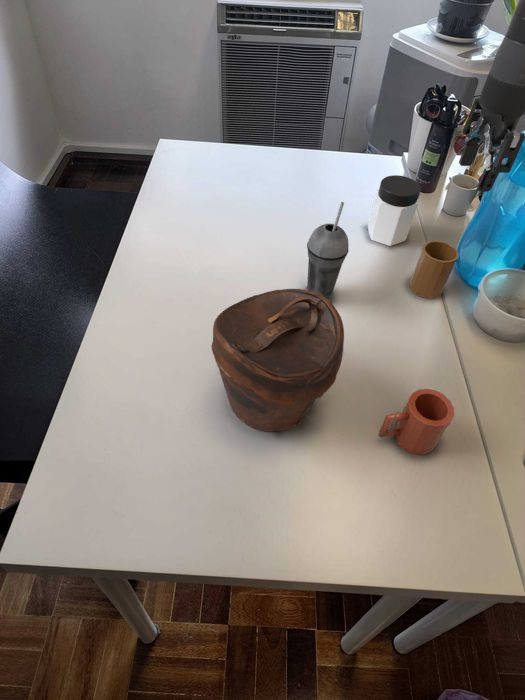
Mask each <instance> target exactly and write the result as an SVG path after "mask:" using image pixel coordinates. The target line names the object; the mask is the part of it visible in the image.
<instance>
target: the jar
mask: <svg viewBox="0 0 525 700" xmlns="http://www.w3.org/2000/svg"><path fill="white" fill-rule="evenodd" d="M421 189H422V188H421V185H420V184H419V182H417V181H416V180H415V179H413V178H410V177H408V176H406V175H405V176H404V175H397V174H396V175H395V174H393V175H388V176H385V177H383V178H382V179H381V181H380V184H379V187H378V190H376V193H375V197H374V201H373V204H372V209H371V212H370V216H369V220H368V224H367V232H368V234H369V238H370V241H373V242H377V243H379V244H383V245H386V246H388V247H392V246H396V245H397V244H401V243H403V242H406V240H407V238H408V235H409V232H410V229H411V226H412V224H413V220H414V217H415V214H416V211H417V208H418V206H419V202H418V199H419V197H420V195H421Z"/></svg>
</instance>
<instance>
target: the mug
mask: <svg viewBox="0 0 525 700" xmlns="http://www.w3.org/2000/svg"><path fill="white" fill-rule="evenodd" d="M454 418H455V407H454V405H453V403H452V401H451V400H450V399H449V398H448V397H447V396H446V395H445V394H444V393H442V392H440V391H438V390H436V389H431V388H419V389H417V390H414V391H413V392H412V393H411V394H410V396H409V398H408V399H407V402H406V403H405V406H404V408H403V410H402V411H401V412H395V413H388V414H386V415H385V417H384V420H383V421H382V424H381V426H380V428H379V431H378V433H377V434H378V437H379V438H388V437H389V438H390V437H394V439H395V442H396V443H397V445H398V446H399V447H400V448H401V449H402V450H403V451H406V452H407V453H409V454H412V455H416V456H417V455H419V456H422V455H427V454H429V453H431V451H433V450H434V449H435V448H436V446H437V444H438V442H439V441H440V440H441V438H442V437H443V435H444V434H445V432H446V430H447V429H448V427H449V426H450V425H451V423H452V421H453V419H454ZM395 421H396V424H395V425H394V428H391V429H390V426H391V425H392V422H395Z"/></svg>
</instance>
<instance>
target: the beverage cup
mask: <svg viewBox="0 0 525 700" xmlns="http://www.w3.org/2000/svg"><path fill="white" fill-rule="evenodd" d="M344 205H345V202H344V201H340V205H339V207H338V211H337V214H336V217H335V221H334V223H324V224H320V225H319V226H317V228H315V229H314V230H313V232H312V233H311V234H310V236H309V238H308V241H307V244H306V248H307V257H308V261H307V262H308V265H307V281H306V282H307V283H306V285H307V286H306V290H309V291H313V292H315V293H318V294H320V295H322V296H323V297H325V298H326V299H328V300H329V301H331V297H332V295H333V292H334V289H335V286H336V283H337V281H338V278H339V275H340V272H341V268H342V266H343V263H344V261H345V260H346V257H347V255H348V254H349V237H348V235H347V233H346V231H345V230H344V229H343V228H342V227H341V226H339V225H338V224H339V221H340V218H341V215H342V213H343V208H344Z"/></svg>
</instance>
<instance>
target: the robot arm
mask: <svg viewBox="0 0 525 700" xmlns="http://www.w3.org/2000/svg"><path fill="white" fill-rule="evenodd" d="M523 116H525V0H518V1H517V4H516V6H515V9H514V11H513V14H512V16H511V19H510V21H509V24H508V26H507V29H506V32H505V34H504V36H503V39H502V40H501V43H500V45H499V47H498V48H497V51H496V53H495V55H494V58H493V61H492V64H491V66H490V68H489V71H488V74H487V77H486V79H485V82H484V84H483V87H482V90H481V93H480V95H479V97H478V98H477V97H476V98H475V99H474V101H473V103H472V106H471V109H470V110H469V113H468V116H467V119H466V121H465V124H464V126H463V129H462V134H463V135H465V138H464V143H465V145H464V147H463V150H462V152H461V155H460V158H459V161H458V164H459V165H460V166H461V167H471V166H472V165H473V163H474V161H475V158H476V156H477V154H478V151H479V148H480V143H481V142H482V144H483V145H484V149H483V154H484V156H486V160H485V168H484V169H483V172H482V174H481V177H480V178H479V181H478V183H477V186H476V189H477V191H478V192H481V193H482V192H491V190H492V189H493V187H494V185H495V182H496V180H497V178H498V176H499V174H509V173H510V172H511V170H512V168H513V166H514V163H515V161H516V159H517V157H518V155H519V153H520V150H521V147H522V145H523V143H524V141H525V133H524V132H518V131H516V125H517V122H518V120H519V118H522V117H523ZM474 122H475V123H474ZM473 123H474V125H473V126H472V124H473ZM498 147H499V148H498ZM495 156H496V157H495ZM494 157H495V159H494ZM506 159H507V160H506Z"/></svg>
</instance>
